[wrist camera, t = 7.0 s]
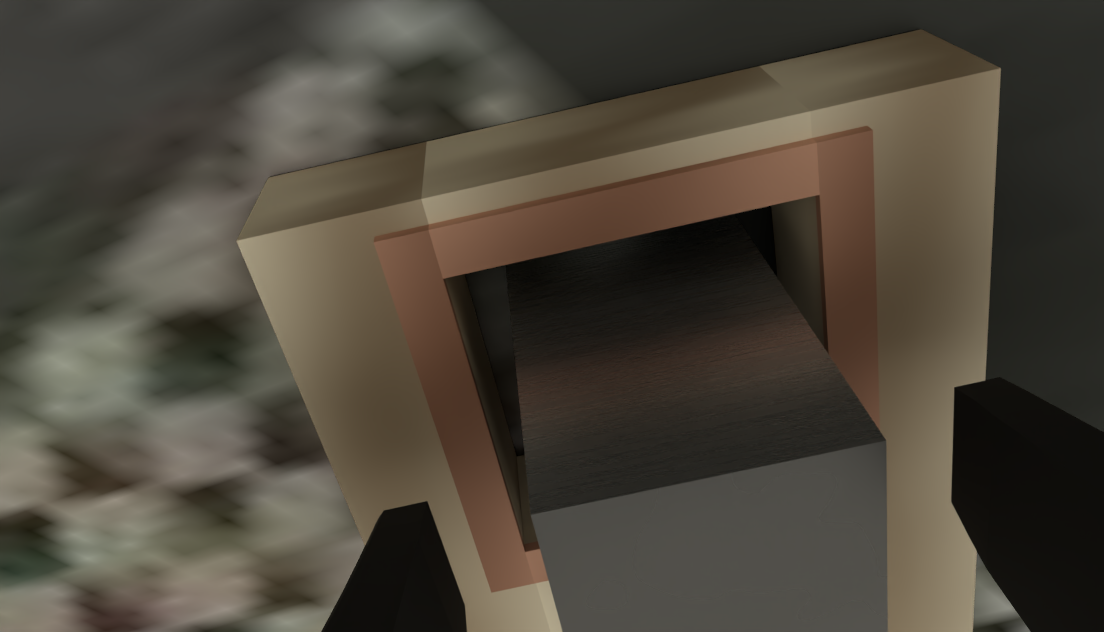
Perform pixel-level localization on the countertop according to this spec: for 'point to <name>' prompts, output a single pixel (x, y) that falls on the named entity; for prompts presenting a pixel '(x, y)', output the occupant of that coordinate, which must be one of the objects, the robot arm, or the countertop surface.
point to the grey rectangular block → (693, 443)
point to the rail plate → (629, 210)
